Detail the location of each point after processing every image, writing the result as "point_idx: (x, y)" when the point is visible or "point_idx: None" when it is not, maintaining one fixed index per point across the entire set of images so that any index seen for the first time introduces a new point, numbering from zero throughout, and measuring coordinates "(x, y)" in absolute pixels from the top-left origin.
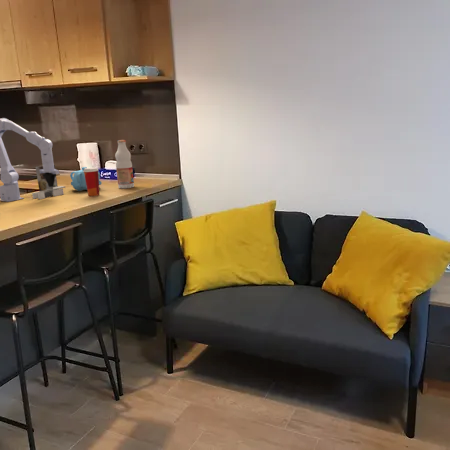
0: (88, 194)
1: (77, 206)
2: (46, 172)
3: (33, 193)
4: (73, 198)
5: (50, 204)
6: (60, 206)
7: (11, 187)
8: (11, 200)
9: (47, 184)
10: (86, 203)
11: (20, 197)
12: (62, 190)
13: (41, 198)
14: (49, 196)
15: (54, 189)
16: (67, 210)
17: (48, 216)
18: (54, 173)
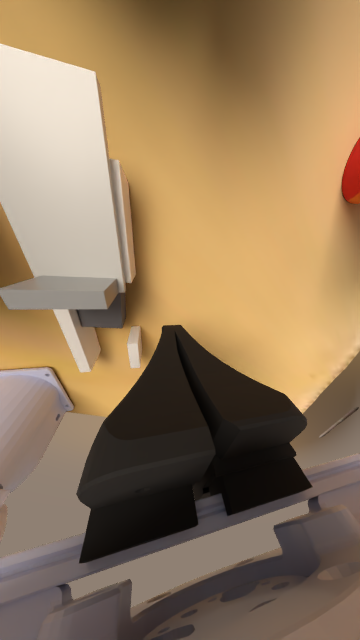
0: (355, 197)
1: (336, 357)
2: (122, 560)
3: (91, 368)
4: (282, 285)
5: (252, 370)
6: (292, 371)
7: (18, 465)
8: (70, 403)
9: (43, 306)
10: (354, 328)
11: (19, 372)
12: (123, 181)
13: (141, 341)
14: (124, 295)
15: (122, 268)
16: (323, 381)
17: (304, 407)
18: (338, 469)
